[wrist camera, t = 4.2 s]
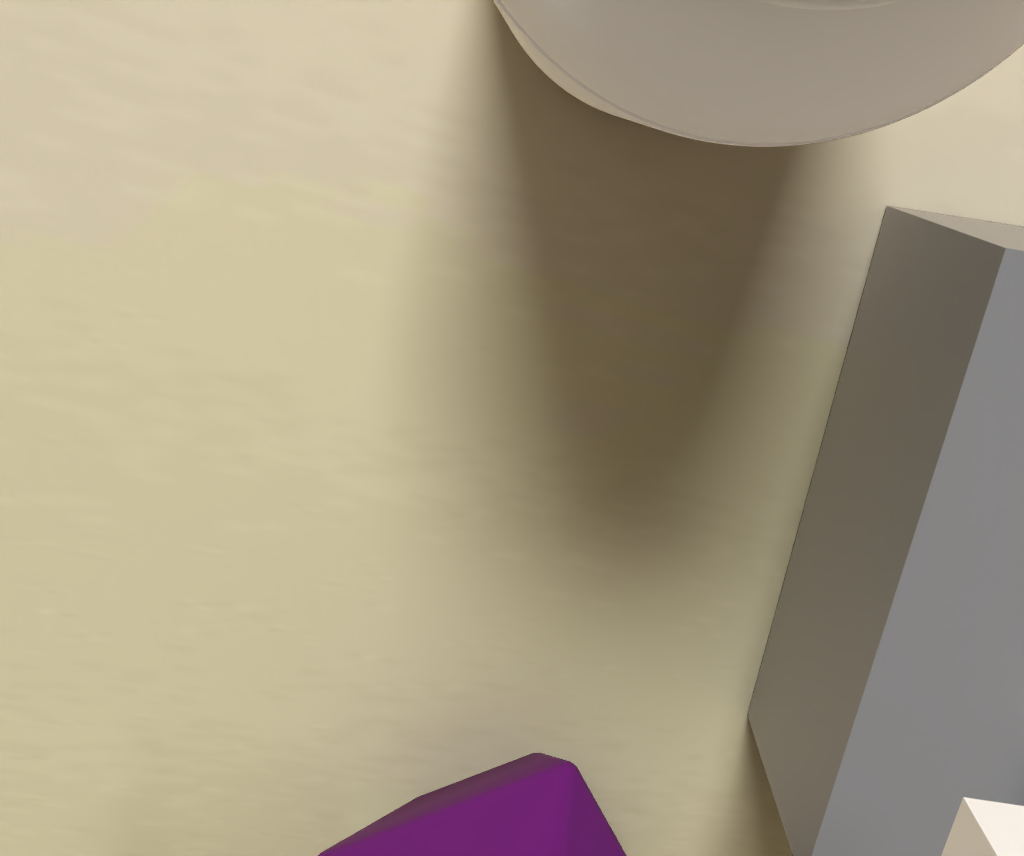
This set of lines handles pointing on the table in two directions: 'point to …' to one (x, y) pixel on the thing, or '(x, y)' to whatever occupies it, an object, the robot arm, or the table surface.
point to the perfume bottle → (495, 817)
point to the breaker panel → (908, 559)
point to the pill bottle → (765, 60)
